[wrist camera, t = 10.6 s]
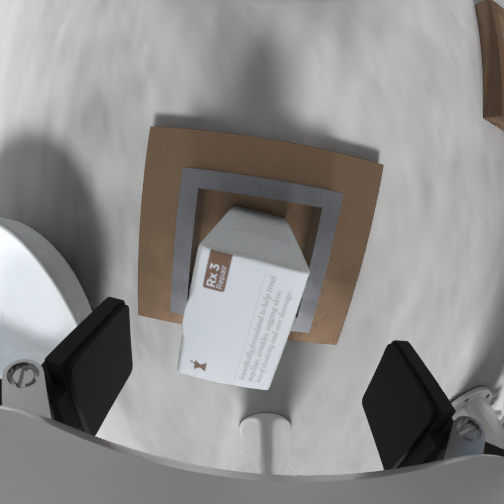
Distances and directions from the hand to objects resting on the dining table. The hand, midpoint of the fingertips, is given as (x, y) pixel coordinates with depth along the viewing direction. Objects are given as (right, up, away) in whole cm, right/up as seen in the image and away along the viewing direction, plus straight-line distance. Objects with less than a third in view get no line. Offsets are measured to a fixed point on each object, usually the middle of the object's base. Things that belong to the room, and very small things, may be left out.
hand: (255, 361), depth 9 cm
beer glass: (+1, -17, +20) cm, 27 cm away
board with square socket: (0, +5, +14) cm, 14 cm away
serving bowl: (-23, -1, +16) cm, 29 cm away
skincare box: (0, +4, +13) cm, 14 cm away
